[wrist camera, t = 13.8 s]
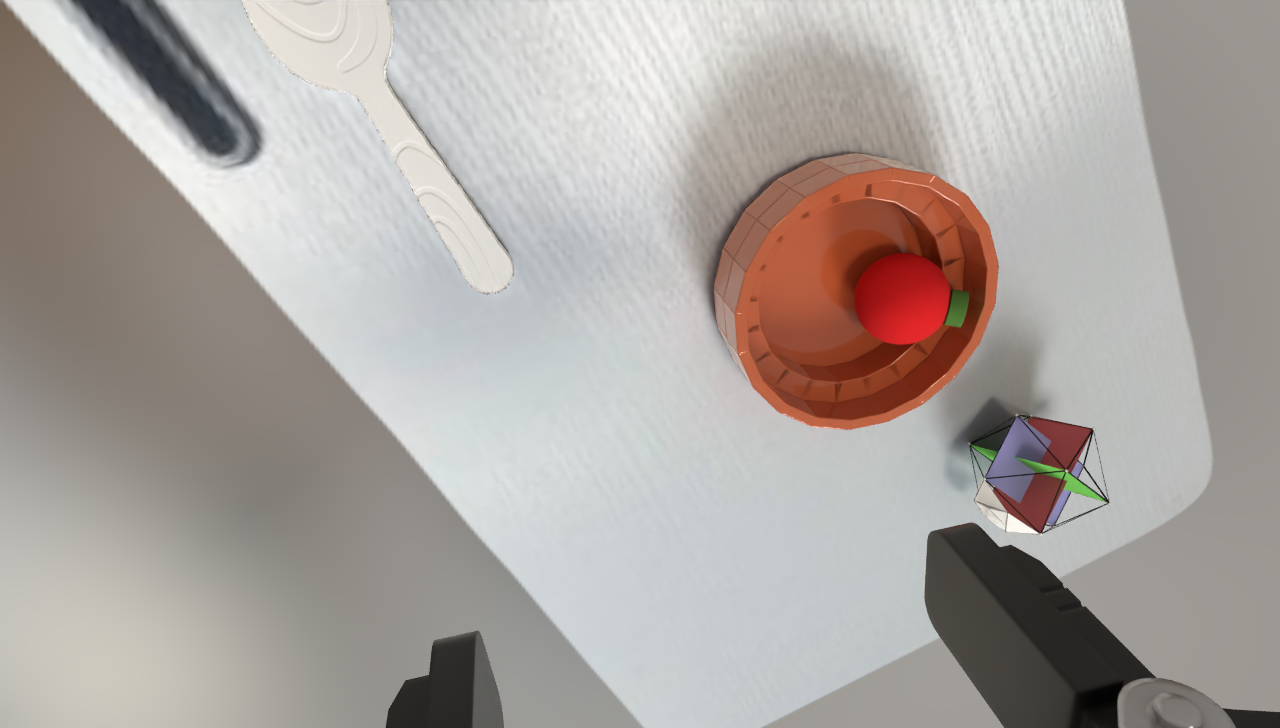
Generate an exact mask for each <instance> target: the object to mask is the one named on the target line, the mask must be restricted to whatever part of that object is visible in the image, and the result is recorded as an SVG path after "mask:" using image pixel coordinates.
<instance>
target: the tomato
mask: <svg viewBox="0 0 1280 728" xmlns="http://www.w3.org/2000/svg"><path fill="white" fill-rule="evenodd" d="M968 301H969V292H967V291H961V290H955V289H952V290H951V291H950V287H949V283H948V281H947V279H946V277H945V275H944V273H943V272H942V271H941V270H940V268H939V267H938V266H937V265H935V264H934V263H933V262H932V261H930V260H928V259H926V258H924V257H922V256H919V255H916V254H910V253H898V254H892V255H889V256H886V257H883V258H881V259H879V260H878V261H876V262H874V263H873V264H872V265H870V266H869V267H868V268H867V269H866V271H865V272H864V273H863V274H862V276H861V278H860V279H859V281H858V284H857V286H856V290H855V296H854V305H855V310H856V314H857V317H858V319H859V321H860V322H861V324H862V326H863V327H864V328H865V329H866V330H867V331H868V332H869V333H870V334H871V335H873V336H874V337H875V338H877V339H879V340H881V341H884V342H887V343H891V344H897V345H905V344H912V343H916V342H919V341H921V340H924V339H925V338H927V337H929V336H930V335H932V334H933V333H934V332H935V331H936V330H938V329H939V327H940V326H941V325H942V324H944V325H948V326H953V327H961V326H962V324H963V322H964V318H965V315H966V311H967V307H968Z"/></svg>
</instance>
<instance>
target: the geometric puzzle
mask: <svg viewBox="0 0 1280 728" xmlns="http://www.w3.org/2000/svg"><path fill="white" fill-rule="evenodd" d="M1015 416H1016V417H1015ZM1015 416H1014V417H1015V419H1014V421H1013V423H1012V425H1010V426H1011V427H1010V426H1008V427H1010V429H1009V431H1008V433H1007V434H1006V436H1005V438H1004V440H1003V442H1002V444H1001V446H1000V448H999V450H998V452H996V451H992V450H988V449H985V448H981V447H977V446H974V445H971V444H973V443H975V442H977V441H979V440H981V439H984V438H986V437H988V436H990V435H992V434H994V433H992V434H990V435H988V436H986V437H984V438H981V437H980V438H981V439H979V438H978V439H979V440H978V439H977V441H976V440H975V442H972V443H968V445H969V446H970V448H971V447H973V448H974V449H975V450H977V451H978V452H980V453H981V454H982V455H984V456H985V457H987V458H988V459H989V460H991V461H992V464H991V466H990V468H989V470H988V472H987V474H986V476H985V477H984V476H983V477H984V478H983V482H982V484H981V487H980V489H979V491H978V493H977V495H976V497H975V499H974V501H975V503H976V504H977V506H978V507H979V509H980V510H981V513H982V514H984V515H985V516H986V517H987V518H988V519H989V520H990V521H992V522H993V523H994V524H996V525H997V526H998V527H1000V528H1001V529H1002V530H1004V531H1005V532H1014V533H1028V534H1039V535H1042V534H1043V533H1045V532H1047V531H1049V529H1048V530H1046V531H1045V532H1043V529H1044V527H1045V525H1046V523H1049V524H1050V525H1047V526H1052V527H1051V528H1053V529H1054V527H1055V526H1057V525H1059V524H1057V525H1055V524H1056V522H1057V520H1058V518H1059V516H1060V514H1061V512H1062V510H1063V508H1064V506H1065V504H1066V502H1067V500H1068V498H1069V496H1070V494H1071V492H1074V493H1077V494H1081V495H1084V496H1087V497H1091V498H1094V499H1097V500H1101V501H1104V502H1107V504H1109V505H1110V504H1111V502H1109V501H1108V500H1109V498H1108V499H1107V498H1106V496H1105V495H1104V494H1103V492H1102V491H1101V489H1100V488H1099V486H1098V485H1097V484H1096V482H1095V481H1094V479H1093V478H1092V476H1091V475H1090V473H1089V472H1088V471H1087V469H1086V468H1085V466H1084V465H1085V461H1086V457H1087V454H1088V450H1089V446H1090V442H1091V439H1092V435H1093V431H1094V430H1095V428H1087V427H1082V426H1077V425H1072V424H1068V423H1063V422H1058V421H1053V420H1048V419H1043V418H1039V417H1034V416H1032V415H1030V416H1029V417H1027V418H1029V420H1028V423H1027V422H1026V421H1024V420H1025V419H1027V418H1025V419H1022V418H1020V417H1019V416H1022V417H1026V415H1018V414H1015ZM1011 419H1012V418H1011ZM1009 420H1010V419H1009ZM1006 422H1007V421H1006ZM1004 423H1005V422H1004ZM1004 423H1003V424H1004ZM1001 425H1002V424H1001ZM998 427H999V426H998ZM1008 427H1005V428H1008ZM996 428H997V427H996ZM1005 428H1003V429H1005ZM1003 429H1001V430H1003ZM993 430H994V429H993ZM1001 430H999V431H1001ZM991 431H992V430H991ZM991 431H990V432H991ZM999 431H997V432H999ZM997 432H995V433H997ZM988 433H989V432H988ZM985 435H986V434H985ZM1090 435H1091V437H1090ZM983 436H984V435H983ZM1094 436H1095V434H1094ZM1089 437H1090V441H1089V444H1088V448H1087V452H1086V456H1085V460H1084V464H1082V463H1081V462H1079V461H1078V459H1079V457H1080V455H1081V453H1082V451H1083V449H1084V447H1085V445H1086V443H1087V441H1088V439H1089ZM1095 440H1096V438H1095ZM1096 445H1097V443H1096ZM971 450H972V448H971V449H970V452H971ZM1097 450H1098V447H1097ZM972 452H973V451H972ZM1098 454H1099V452H1098ZM973 455H974V453H973ZM971 457H972V454H971ZM974 457H975V455H974ZM975 459H976V457H975ZM1099 459H1100V457H1099ZM972 462H973V460H972ZM976 462H977V460H976ZM1100 463H1101V461H1100ZM977 464H978V462H977ZM978 466H979V464H978ZM973 468H974V465H973ZM979 468H980V466H979ZM1083 468H1084V469H1085V470H1086V472H1087V473H1088V474H1089V476H1090V477H1091V479H1092V480H1093V482H1094V483H1095V485H1096V486H1097V487H1098V489H1099V490H1100V492H1101V493H1102V495H1103V496H1104V497H1105V498H1103V497H1102V496H1101V495H1099V494H1098V493H1097V492H1095V491H1094V490H1093V489H1091V488H1090V487H1089V486H1087V485H1086V484H1085V483H1083V482H1082V481H1081V480H1079V479H1078V478H1079V476H1080V474H1081V472H1082V470H1083ZM1101 468H1102V466H1101ZM980 471H981V469H980ZM974 473H975V470H974ZM981 473H982V471H981ZM1102 473H1103V471H1102ZM982 475H983V473H982ZM1103 477H1104V475H1103ZM975 478H976V476H975ZM989 482H990V483H991V484H993V485H994V486H995V488H994V487H993V486H992V485H991V484H990V483H989ZM1104 482H1105V480H1104ZM976 484H977V481H976ZM988 484H989V485H991V486H992V487H993V488H994V490H992V489H991V488H990V486H989V485H988ZM1105 486H1106V484H1105ZM977 489H978V486H977ZM1106 491H1107V489H1106ZM1107 496H1108V494H1107ZM1107 504H1105V505H1107ZM1102 506H1104V505H1102ZM1102 506H1100V507H1102ZM1100 507H1098V508H1100ZM1098 508H1095V509H1093V510H1096V509H1098ZM1093 510H1090V511H1088V513H1089V512H1091V511H1093ZM1086 514H1087V512H1086ZM1082 515H1085V513H1083V514H1081V516H1082ZM1076 517H1077V518H1078V516H1076ZM1076 517H1074V518H1075V519H1076ZM1079 517H1080V515H1079ZM1071 519H1072V520H1074V519H1073V518H1071ZM1071 519H1069V520H1070V521H1071ZM1067 521H1068V520H1067ZM1064 522H1066V521H1064ZM1064 522H1062V523H1064ZM1068 522H1069V521H1068ZM1066 523H1067V522H1066ZM1060 524H1061V523H1060ZM1064 524H1065V523H1064ZM1061 525H1063V524H1061ZM1059 526H1060V525H1059ZM1057 527H1058V526H1057ZM1051 528H1050V530H1052V529H1051ZM1055 528H1056V527H1055ZM1042 532H1043V533H1042Z"/></svg>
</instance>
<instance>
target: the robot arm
mask: <svg viewBox="0 0 1280 728" xmlns="http://www.w3.org/2000/svg"><path fill="white" fill-rule="evenodd" d="M925 604H926V608H927V612H928V615H929V618H930V620H931V622H932V625H933V626H934V628H935V630H936V632H937V633H938V635H939V636H940V637H941V639H942V640H943V642H944V643H945V644H946V646H947V647H948V649H949V650H950V651H951V653H952V654H953V656H954V657H955V659H956V660H957V661H958V663H959V664H960V666H961V667H962V668H963V670H964V671H965V673H966V674H967V676H968V677H969V678H970V680H971V681H972V682H973V684H974V685H975V687H976V688H977V690H978V691H979V692H980V694H981V695H982V697H983V698H984V699H985V701H986V702H987V704H988V705H989V707H990V708H991V709H992V711H993V712H994V714H995V715H996V716H997V718H998V719H999V721H1000V722H1001V724H1002V725H1003V726H1004V728H1280V712H1266V711H1248V710H1233V709H1224V708H1221V707H1220V706H1219V705H1218V704H1217V703H1215V702H1214V701H1213V700H1212V699H1210V698H1209V697H1207V696H1206V695H1204V694H1203V693H1201V692H1199V691H1197V690H1196V689H1194V688H1192V687H1189V686H1187V685H1184V684H1182V683H1178V682H1175V681H1172V680H1167V679H1162V678H1156V677H1155V676H1154V675H1153V674H1152V673H1151V672H1150V671H1148V669H1147V668H1146V667H1145V666H1144V665H1143V664H1142V663H1141V662H1140V661H1139V660H1138V659H1137V658H1136V657H1135V656H1134V655H1133V654H1132V653H1131V652H1130V651H1129V650H1128V649H1127V648H1126V647H1125V646H1124V645H1123V644H1122V643H1121V642H1120V641H1119V640H1118V639H1117V638H1116V637H1115V636H1114V635H1113V634H1112V633H1111V632H1110V631H1109V630H1108V629H1107V628H1106V627H1105V626H1104V625H1103V624H1102V623H1101V622H1100V621H1099V620H1098V619H1097V618H1096V617H1095V616H1094V615H1093V614H1092V613H1091V612H1090V611H1089V610H1088V609H1087V608H1086V607H1083V606H1082V605H1081V602H1080V600H1079V599H1077V597H1076V596H1075V595H1073V593H1071V591H1070V590H1069V589H1068V588H1064V587H1063V583H1062V582H1061V581H1060V580H1059V579H1058V578H1057V577H1056V576H1055V575H1054V574H1053V573H1052V572H1051V571H1050V570H1049V569H1048V568H1047V567H1046V566H1045V565H1044V564H1043V563H1042V562H1041V561H1039V560H1037V559H1036V558H1034V557H1032V556H1030V555H1028V554H1027V553H1025V552H1023V551H1021V550H1019V549H1018V548H1016V547H1014V546H1012V545H1008V546H1004V547H999V546H998V545H997V544H996V543H995V542H994V541H993V540H992V539H991V538H990V537H989V536H988V535H987V534H986V533H985V531H984V530H983V529H982V528H981V527H980V526H978V525H977V524H975V523H967V524H962V525H958V526H953V527H949V528H944V529H940V530H935V531H932V532H930V534H929V536H928V541H927V558H926V576H925ZM386 728H504V723H503V713H502V706H501V701H500V696H499V692H498V689H497V685H496V682H495V679H494V675H493V672H492V669H491V666H490V662H489V659H488V655H487V652H486V649H485V646H484V643H483V639H482V636H481V634H480V632H479V631H474V632H470V633H465V634H461V635H456V636H452V637H447V638H443V639H438V640H435V641H434V642H433V646H432V652H431V662H430V672H429V675H427V676H423V677H418V678H414V679H410V680H406V681H405V682H404V684H403V686H402V688H401V689H400V691H399V693H398V694H397V696H396V698H395V700H394V702H393V703H392V705H391V707H390V708H389V711H388V717H387V723H386Z"/></svg>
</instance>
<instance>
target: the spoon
mask: <svg viewBox="0 0 1280 728" xmlns="http://www.w3.org/2000/svg"><path fill="white" fill-rule="evenodd" d="M241 1H242V2H243V3H242V4H243V5H244V7H245V8H244V9H245V10H246V11H247V12H246V14H247V17H248V18H249V19H250V21H251V22H252V23H251V24H252V26H253V27H254V30H255V31H256V33H257V34H258V36H259V37H260V38H261V40H262V41H263V43H264V44H265V46H266V47H267V48H268V50H269V51H270V53H271V55H274V57H275V58H276V59H278V61H279V62H280V63H281V64H282V65H284V66H285V68H287V69H288V71H290V72H291V73H293V75H297V77H299V78H301V79H303V80H305V81H307V82H309V83H310V84H313V85H315V86H318V87H321V88H325V89H328V90H334V91H342V92H346V93H348V94H350V95H353V96H355V97H356V98H357V99H358V101H359V102H361V104H362V105H363V107H364V110H365V112H366V113H367V115H368V116H369V117H370V119H371V120H372V122H373V123H374V125H375V126H376V128H377V131H378V133H379V134H380V136H381V137H382V138H383V140H382V141H383V142H384V143H385V145H386V146H387V148H388V149H389V151H390V152H391V154H392V155H393V156H394V158H395V162H396V163H397V165H398V166H399V167H400V169H401V170H400V171H401V172H402V174H403V175H404V176H405V178H406V179H407V181H408V182H409V184H410V185H411V187H412V188H413V189H412V191H413V192H414V193H415V194H416V196H417V197H418V201H419V202H420V204H421V205H422V206H423V208H424V210H425V211H426V213H427V214H428V217H429V219H430V220H431V221H432V223H433V224H434V226H435V227H436V231H437V232H438V233H439V235H440V237H441V238H442V239H443V241H444V245H445V246H446V247H447V249H448V250H449V251H450V253H451V254H452V256H453V257H454V259H455V263H456V264H457V265H458V266H459V270H460V272H461V273H462V274H463V275H464V277H465V278H466V280H467V281H468V283H469V284H470V285H471V287H473V288H475V290H478V292H481V293H483V294H484V293H487V294H488V293H489V294H490V293H492V294H493V293H495V294H496V293H497V292H498V293H499V292H500V291H502V290H504V289H506V287H507V286H508V285H509V284H510V282H511V280H512V278H513V276H514V266H513V262H512V258H511V257H510V255H509V254H508V252H507V250H505V249H504V247H503V246H502V244H501V243H500V242H499V241H498V239H497V238H496V236H495V235H494V233H493V231H492V230H491V228H490V227H488V225H487V223H486V222H485V220H484V219H483V217H482V216H481V214H480V212H478V211H477V209H476V208H475V206H474V204H473V203H472V201H471V200H469V198H468V197H467V195H466V193H465V192H464V190H463V189H462V187H461V186H460V184H458V182H457V181H456V179H455V178H454V176H452V175H451V173H450V171H449V170H448V168H447V167H446V165H445V164H444V162H443V160H442V159H441V157H439V156H438V154H437V153H436V151H435V149H434V148H432V146H431V145H430V143H429V142H428V140H427V139H426V137H425V135H424V134H423V132H422V131H421V129H419V128H418V126H417V124H416V123H415V121H414V120H412V118H411V117H410V115H409V114H408V112H407V110H406V109H405V107H404V106H403V104H402V103H401V101H400V100H398V98H397V97H396V95H395V93H394V92H393V90H392V89H391V87H390V86H389V84H388V81H387V76H386V71H387V69H386V67H387V65H388V62H389V59H390V56H391V51H392V46H393V40H394V37H393V36H394V34H393V32H394V30H393V28H394V26H393V19H392V14H391V8H390V5H389V3H388V0H241Z"/></svg>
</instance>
